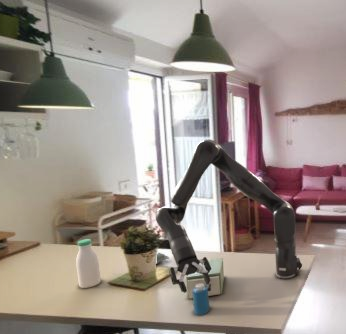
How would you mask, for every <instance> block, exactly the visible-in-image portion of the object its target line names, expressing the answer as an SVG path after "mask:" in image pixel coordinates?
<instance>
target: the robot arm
mask: <svg viewBox="0 0 346 334" xmlns="http://www.w3.org/2000/svg"><path fill="white" fill-rule="evenodd" d="M211 165H213V166H214V167H215V168H217V169H218V170H219V171H220V172H221V173H222V174H223V175H224V176H225V177H226V179H227V180H228V181H229V182H230V183H231V185H232V186H233V187H234V188H235V189H237V190H238V191H239V192H240V193H242V195H244V196H245V197H247V198H249V199H250V200H252V201H254V202H256V203H257V204H260V205H262V206H263V207H264V208H266V209H267V211H269V212H270V213H271V214H272V215H273V227H274V228H273V231H274V234H273V235H274V253H275V254H274V255H275V256H274V257H275V276H276V277H277V278H279V279H283V280H287V279H292V278H294V277H297V276H298V271H300V270H301V269H302V267H303V264H302V263H301V259H300V257H298V256H297V247H296V213H295V209H294V208H293V206H292V204H290V202H287V201H286V200H285V199H282V197H280V196H279V195H277V194H276V193H274V192H273V191H272V190H271V189H270V188H269V187H268V186H267V185H266V184H265V183H264V182H263V181H262V180H261V179H260V178H258V177H257V176H256V175H255V174H254V173H253V172H252V171H251V170H249V169H248V168H246V167H245V166H244V165H242V164H241V163H239V162H238V161H237V160H236V159H234V158H233V157H232V156H231V155H230V154H229V153H228V152H227V151H226V150H225V149H223V147H222V146H221V145H220V144H219V143H218V142H217V141H216V140H213V139H204V140H201V141H200V142H198V143H197V144H196V146H195V148H194V151H193V155H192V157H191V160H190V162H189V164H188V167H187V168H186V170H185V172H184V174H183V175H182V177H181V178H180V180H179V182H178V183H177V185H176V187H175V189H174V190H173V191H172V193H171V195H170V198H169V201H170V202H171V203H172V204H173V205H174V206H173V207H168V206H162V207H160V208H158V209H157V211H156V212H155V221H156V224H157V225H158V226H159V228H160V229H161V231H162V232H163V233H164V234H165V236H166V237H167V240H168V243H169V247H170V251H171V254H172V256H173V258H174V262H175V264H176V267H174V266H173V267H172V266H171V267H170V269H169V271H168V273H169V276H170V280H171V283H172V285H173V286H174V285H178V286H179V289H180V292H182V293H183V294H186V293H188V290H187V285H186V284H185V281H184V278H185V276H186V277H187V276H188V275H190V274H194V273H195V272H197V273H200V274H202V275H204V276H203V277H204V280H205V282H206V284H209V283H210V277H209V275H208V273H209V272H210V271H211V269H212V268H211V266H210V264H209V262H208V260H209V259H208V257H206V256H204V257H202V258H201V259H198V256H197V254H196V251H195V249H194V247H193V243H192V241H191V239H190V238H189V236H188V233H187V231H186V228H185V227H184V225H181V224H180V223H181V222H182V221H184V218H185V215H186V212H187V209H188V203H190V201H191V198H192V197H193V195H194V193H195V191H196V189H197V187H198V185H199V184H200V181H201V178H202V176H203V175H204V173H205V172H206V170H208V168H209V167H210V166H211ZM200 263H201V264H203V265H204V267H205V269H206V270H205V269H204V268H203V267H202V266H200V265H199V264H200ZM177 272H178V273H181V274H180V277H179V278H177V274H176V273H177Z"/></svg>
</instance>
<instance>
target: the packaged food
mask: <svg viewBox="0 0 346 334" xmlns="http://www.w3.org/2000/svg"><path fill="white" fill-rule="evenodd" d="M157 252H158V254H157V264H156V265H159V264H160V263H162V262H164V261H166V260H169V259H170V257H169V256H168V255H165V254H164V253H161V252H159V251H157Z"/></svg>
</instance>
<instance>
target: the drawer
mask: <svg viewBox="0 0 346 334" xmlns="http://www.w3.org/2000/svg"><path fill="white" fill-rule="evenodd" d="M209 277H210V283H209V284H206V282H205V280H204V277H201V278H193V279H191V280H188V281H187V280H186V283H187V282H188V290H187V294H188V293H189V299H193V289H194V288H195V287H196V285H197V284H200V283H203V284H204V286H207V287H208V297H210V295H211V296H217V294H218V295H221V294H220V285H219V276H218V275H216V276H209ZM189 299H188V300H189Z"/></svg>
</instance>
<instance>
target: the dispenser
mask: <svg viewBox="0 0 346 334" xmlns="http://www.w3.org/2000/svg"><path fill="white" fill-rule="evenodd" d="M207 260H208V262H209V264H210V266H211V268H212V269H211V271H210V272H209V273H208V275H209V276H216V275H218V276H219V285H220V294H217V295H223V287H224V281H225V272H224V271H225V270H224V257H219V258H218V257H217V258H210V259H207ZM199 265H200V266H202V267H203V268H204V269H205V267H204V265H203V264H201V263H200V264H199ZM205 270H206V269H205ZM203 276H204V275H202V274H200V273H197V272H195V273H194V274H190V275H188V276H187V275H186V278H185V279H186V289H187V291H188V282H187V281H188V280H191V279H193V278H201V277H203ZM217 295H216V296H217ZM210 296H212V295H210ZM210 296H209V297H210ZM187 299H188V300H189V293H188V292H187Z"/></svg>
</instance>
